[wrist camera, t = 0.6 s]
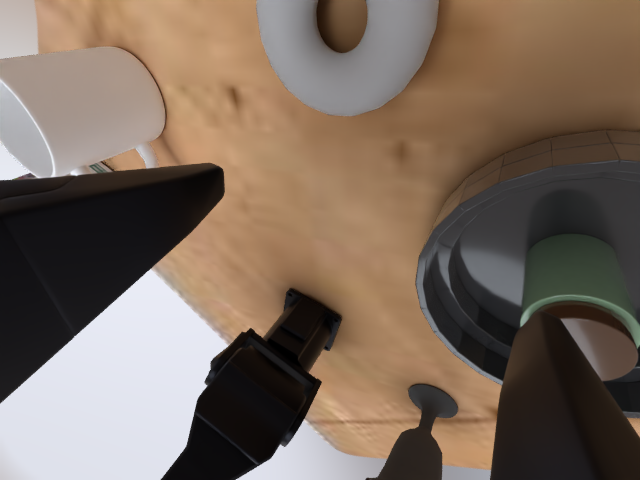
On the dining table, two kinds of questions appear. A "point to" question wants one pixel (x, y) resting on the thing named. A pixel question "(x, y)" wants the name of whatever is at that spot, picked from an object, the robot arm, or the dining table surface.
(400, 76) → the donut
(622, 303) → the spice jar
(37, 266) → the robot arm
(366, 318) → the dining table surface
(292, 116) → the dining table surface
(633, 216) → the black frying pan
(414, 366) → the dining table surface
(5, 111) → the cup
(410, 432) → the sundae
